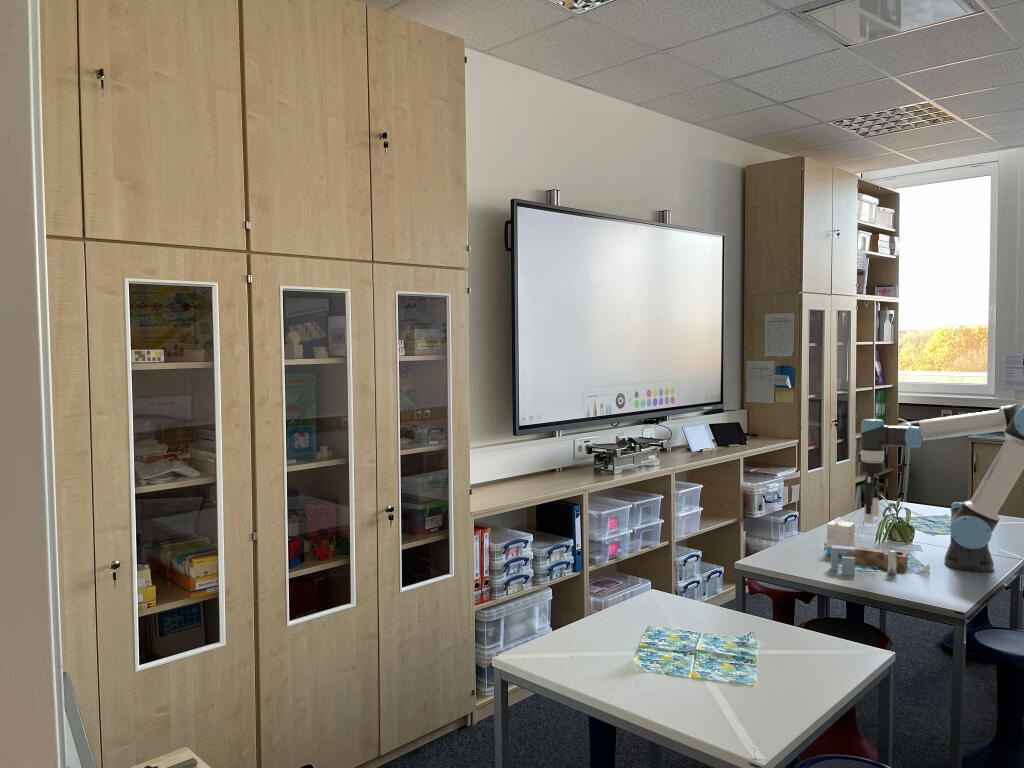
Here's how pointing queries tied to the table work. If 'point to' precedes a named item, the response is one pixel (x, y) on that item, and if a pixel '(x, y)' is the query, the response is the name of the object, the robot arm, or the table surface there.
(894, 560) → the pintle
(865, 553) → the link
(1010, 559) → the table surface
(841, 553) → the ink box
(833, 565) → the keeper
